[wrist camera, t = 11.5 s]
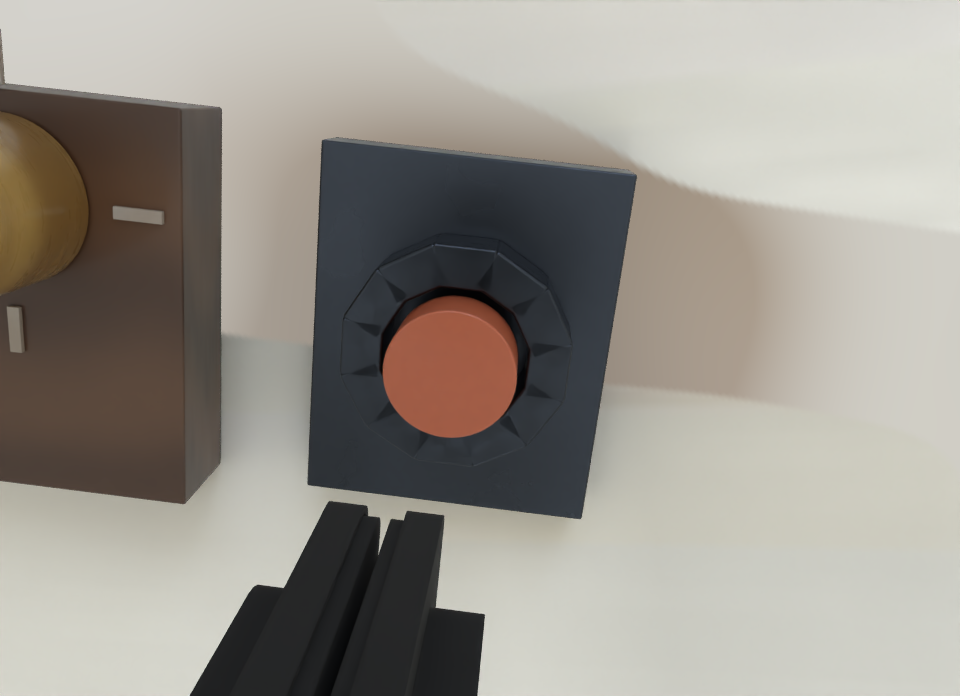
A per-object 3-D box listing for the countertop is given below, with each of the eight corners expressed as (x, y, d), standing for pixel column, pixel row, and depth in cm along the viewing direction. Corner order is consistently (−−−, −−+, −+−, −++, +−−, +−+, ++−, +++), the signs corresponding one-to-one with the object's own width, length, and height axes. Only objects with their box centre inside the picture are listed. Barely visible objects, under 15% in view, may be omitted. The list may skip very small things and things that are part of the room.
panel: (221, 463, 28) (182, 507, 25) (-57, 429, 28) (-128, 468, 25) (222, 55, 23) (177, 48, 20) (-102, 19, 24) (-194, 7, 21)
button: (510, 421, 23) (509, 446, 21) (388, 406, 23) (377, 430, 22) (525, 302, 22) (524, 319, 20) (397, 287, 22) (386, 302, 20)
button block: (578, 494, 27) (584, 550, 24) (320, 462, 27) (290, 513, 24) (630, 169, 24) (646, 180, 20) (335, 136, 24) (303, 142, 21)
